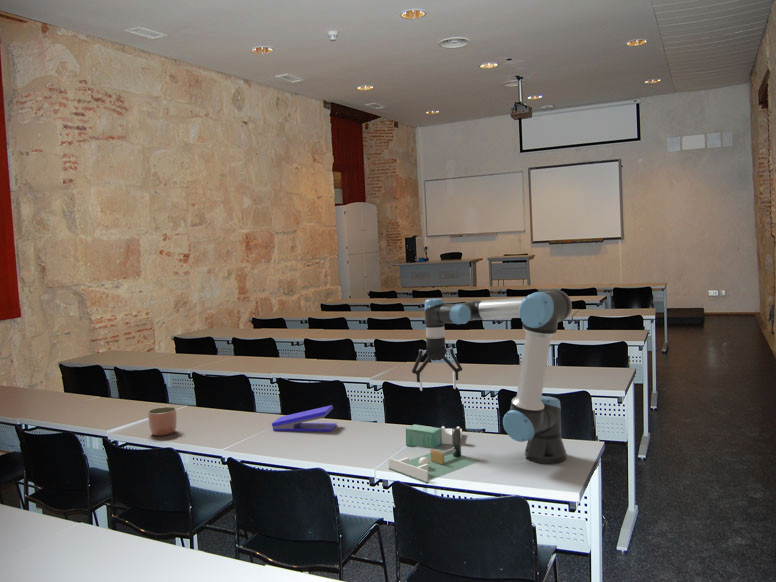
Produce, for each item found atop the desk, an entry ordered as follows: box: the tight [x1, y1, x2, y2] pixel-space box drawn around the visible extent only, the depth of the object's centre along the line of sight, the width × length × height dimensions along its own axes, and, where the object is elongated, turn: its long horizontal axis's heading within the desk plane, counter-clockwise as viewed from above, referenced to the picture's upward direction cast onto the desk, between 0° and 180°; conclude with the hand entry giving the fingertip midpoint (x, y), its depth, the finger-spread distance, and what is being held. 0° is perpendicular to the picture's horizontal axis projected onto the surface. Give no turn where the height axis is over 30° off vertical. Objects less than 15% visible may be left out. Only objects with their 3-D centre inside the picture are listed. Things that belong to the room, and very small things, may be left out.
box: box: [405, 424, 443, 449], centre depth 256 cm, size 7×14×8 cm, turn 58°
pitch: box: [387, 448, 481, 484], centre depth 232 cm, size 20×28×4 cm
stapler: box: [271, 404, 338, 433], centre depth 289 cm, size 12×28×10 cm, turn 79°
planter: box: [147, 406, 178, 437], centre depth 290 cm, size 12×12×11 cm
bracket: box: [440, 425, 463, 445], centre depth 261 cm, size 13×7×8 cm, turn 169°
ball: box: [419, 457, 430, 466], centre depth 228 cm, size 4×4×4 cm
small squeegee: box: [430, 427, 462, 465], centre depth 236 cm, size 6×13×10 cm, turn 131°
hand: (437, 389), depth 253 cm, fingers open, 13 cm apart
